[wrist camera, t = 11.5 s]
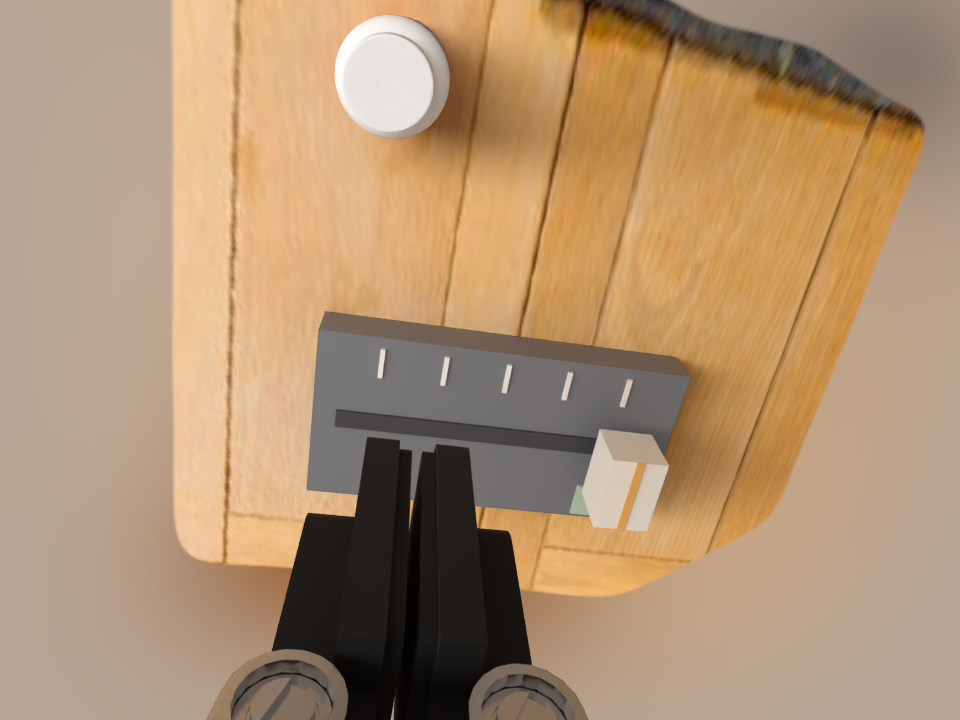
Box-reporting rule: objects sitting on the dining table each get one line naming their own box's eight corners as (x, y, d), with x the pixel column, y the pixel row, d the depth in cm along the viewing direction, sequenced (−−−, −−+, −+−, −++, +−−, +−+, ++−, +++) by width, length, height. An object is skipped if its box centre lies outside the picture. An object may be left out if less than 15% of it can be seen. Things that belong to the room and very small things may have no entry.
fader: (594, 416, 44) (613, 461, 40) (645, 422, 45) (669, 467, 40) (577, 478, 46) (593, 527, 42) (625, 483, 47) (646, 532, 42)
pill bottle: (387, -7, 36) (373, -20, 27) (467, 60, 38) (478, 69, 29) (331, 81, 38) (301, 95, 29) (410, 142, 39) (404, 173, 31)
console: (325, 311, 43) (318, 331, 41) (675, 357, 47) (691, 378, 44) (313, 464, 49) (306, 491, 46) (630, 496, 52) (642, 523, 49)
